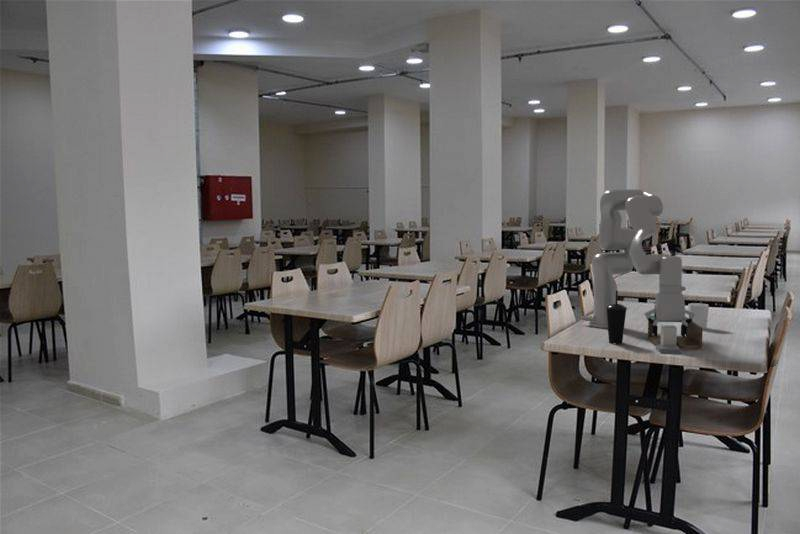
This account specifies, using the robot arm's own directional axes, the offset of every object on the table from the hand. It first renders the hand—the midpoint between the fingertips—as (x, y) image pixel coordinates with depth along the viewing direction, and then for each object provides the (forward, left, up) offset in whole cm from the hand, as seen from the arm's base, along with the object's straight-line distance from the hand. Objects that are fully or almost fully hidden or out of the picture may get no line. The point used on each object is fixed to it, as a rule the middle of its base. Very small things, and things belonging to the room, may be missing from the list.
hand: (669, 336), depth 244 cm
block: (0, 0, -4) cm, 4 cm away
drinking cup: (-18, +5, -4) cm, 19 cm away
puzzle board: (+3, +6, -4) cm, 8 cm away
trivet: (-2, -8, -4) cm, 9 cm away
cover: (+2, +11, +4) cm, 12 cm away
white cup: (+21, +40, -4) cm, 45 cm away
